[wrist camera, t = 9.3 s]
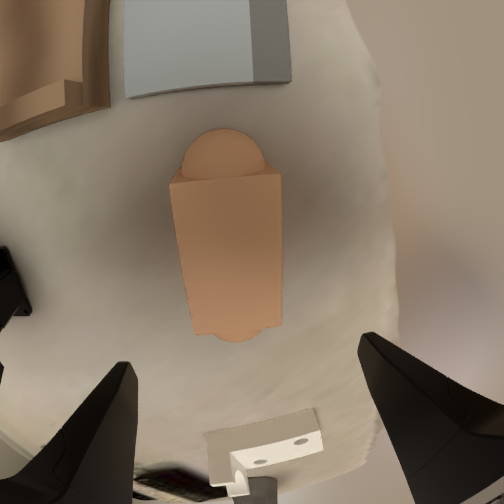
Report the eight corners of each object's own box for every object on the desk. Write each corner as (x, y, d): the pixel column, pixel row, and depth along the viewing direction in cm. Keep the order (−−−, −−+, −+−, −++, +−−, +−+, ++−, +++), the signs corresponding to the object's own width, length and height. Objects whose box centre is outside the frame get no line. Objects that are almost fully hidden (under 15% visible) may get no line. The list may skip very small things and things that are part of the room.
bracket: (225, 451, 33) (230, 497, 26) (206, 431, 30) (210, 484, 23) (316, 429, 33) (331, 474, 26) (311, 406, 30) (329, 459, 23)
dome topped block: (201, 317, 22) (201, 359, 18) (175, 132, 16) (163, 136, 12) (269, 310, 22) (281, 350, 18) (263, 125, 16) (280, 127, 12)
